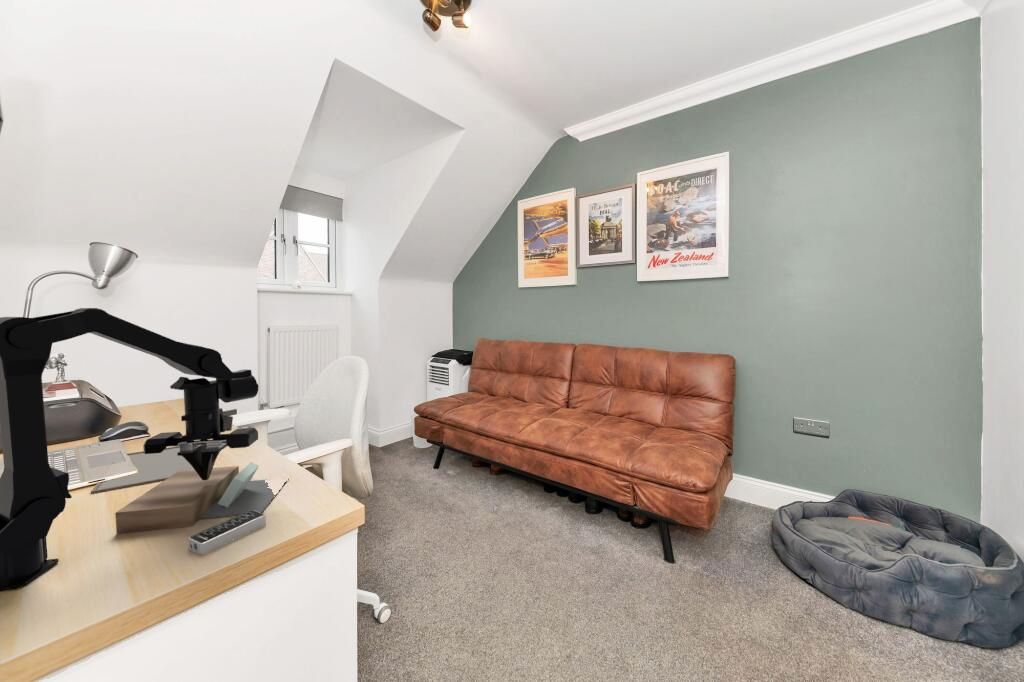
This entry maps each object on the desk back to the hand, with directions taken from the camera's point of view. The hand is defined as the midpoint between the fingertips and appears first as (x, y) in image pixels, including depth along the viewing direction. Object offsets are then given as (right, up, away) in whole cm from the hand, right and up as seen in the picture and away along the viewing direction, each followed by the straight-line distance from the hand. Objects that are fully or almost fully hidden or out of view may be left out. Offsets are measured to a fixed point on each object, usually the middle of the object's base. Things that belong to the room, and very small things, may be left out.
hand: (205, 479), depth 84 cm
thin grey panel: (-29, -4, +21) cm, 36 cm away
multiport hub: (+14, -7, -12) cm, 19 cm away
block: (+5, -1, +2) cm, 5 cm away
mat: (+7, -5, +3) cm, 9 cm away
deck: (-4, -5, -1) cm, 6 cm away
